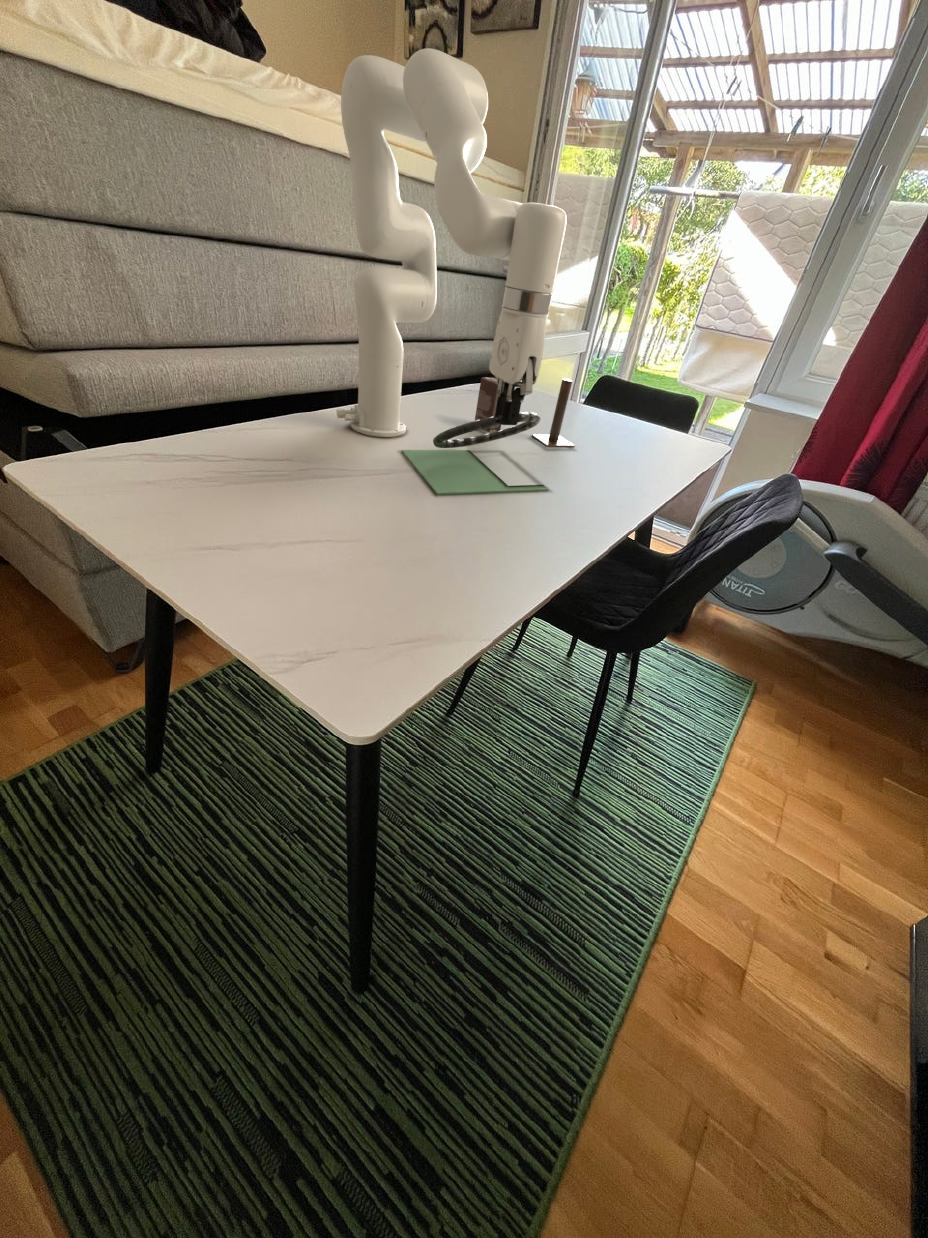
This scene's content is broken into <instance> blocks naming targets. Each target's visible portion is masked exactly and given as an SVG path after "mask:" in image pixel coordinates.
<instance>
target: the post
mask: <svg viewBox="0 0 928 1238" xmlns="http://www.w3.org/2000/svg"><path fill="white" fill-rule="evenodd" d="M572 386H573V379H570V378H562V379H561V383H560V388H559V392H558V395H557V400H556V404H555V410H554V413H553V416H552V417H553V418H552V422H551V426H550V431H549V434H543V433H542V434H541V433H538V434H536V433H532V434H531V437H532V438H533V439H535V440H536V441H537V442H539V443H541V444H542V445H543V446H545V447H546V448H575V447H576V445H575V444H574V443H572V442H571V441H569V440H567V439H566V438H564V437H563V436H561V435H560V433H561V429H562V426H563V421H564V417H565V414H566V410H567V405H568V402H569V401H568V400H569V397H570V393H571V388H572Z"/></svg>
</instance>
